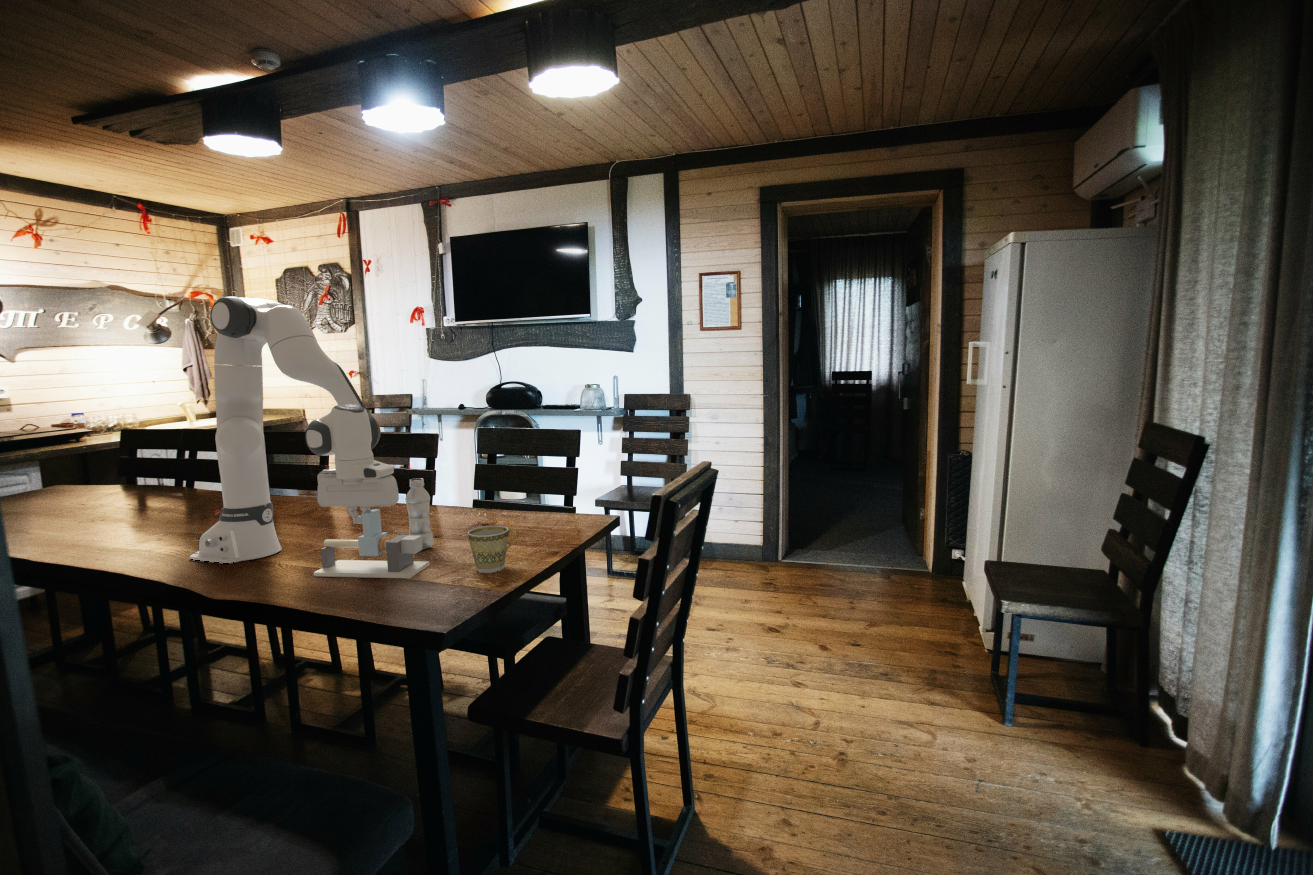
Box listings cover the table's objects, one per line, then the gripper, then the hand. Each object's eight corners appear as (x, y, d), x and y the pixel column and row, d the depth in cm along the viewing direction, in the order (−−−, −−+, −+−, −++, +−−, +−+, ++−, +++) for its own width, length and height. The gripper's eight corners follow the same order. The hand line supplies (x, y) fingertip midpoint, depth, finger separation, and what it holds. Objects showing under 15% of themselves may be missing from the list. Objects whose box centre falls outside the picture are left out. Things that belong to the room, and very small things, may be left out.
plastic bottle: (426, 552, 178) (421, 481, 175) (404, 551, 179) (399, 481, 177) (438, 546, 184) (433, 477, 182) (417, 545, 185) (412, 477, 183)
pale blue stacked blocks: (359, 555, 161) (356, 513, 159) (370, 550, 165) (367, 509, 164) (378, 556, 160) (374, 513, 159) (388, 550, 165) (385, 509, 163)
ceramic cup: (476, 578, 155) (474, 538, 154) (465, 567, 164) (462, 529, 163) (527, 568, 162) (525, 529, 161) (514, 558, 171) (512, 521, 169)
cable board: (313, 576, 160) (310, 541, 159) (338, 563, 170) (335, 531, 169) (410, 578, 157) (407, 543, 156) (429, 565, 166) (427, 532, 165)
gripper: (308, 471, 159) (314, 526, 160) (385, 471, 156) (390, 526, 158) (325, 467, 165) (330, 519, 167) (399, 466, 162) (404, 520, 164)
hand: (360, 523), depth 162 cm, fingers closed
